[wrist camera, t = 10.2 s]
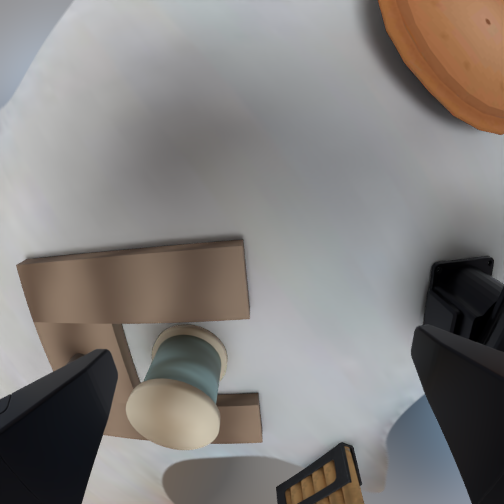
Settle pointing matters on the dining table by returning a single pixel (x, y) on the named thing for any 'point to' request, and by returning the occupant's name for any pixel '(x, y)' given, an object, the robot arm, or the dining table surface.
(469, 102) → the pie
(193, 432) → the thread spool
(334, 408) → the dining table surface
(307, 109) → the dining table surface
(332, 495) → the ammunition clip
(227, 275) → the walnut notched board
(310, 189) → the dining table surface
